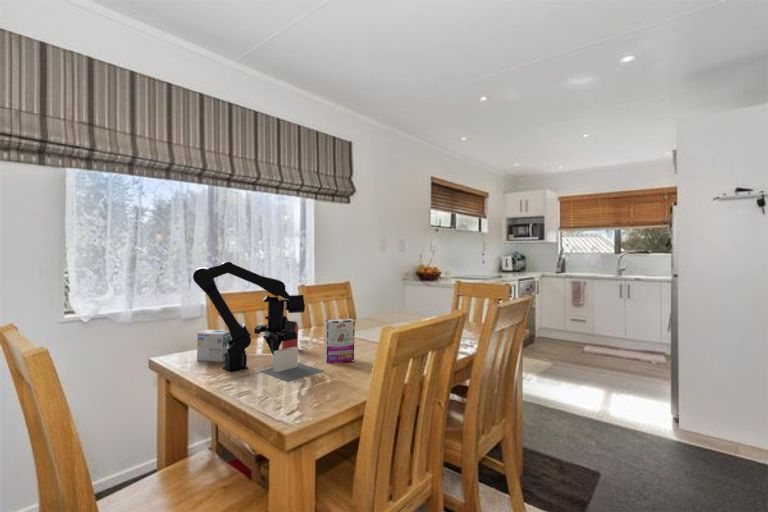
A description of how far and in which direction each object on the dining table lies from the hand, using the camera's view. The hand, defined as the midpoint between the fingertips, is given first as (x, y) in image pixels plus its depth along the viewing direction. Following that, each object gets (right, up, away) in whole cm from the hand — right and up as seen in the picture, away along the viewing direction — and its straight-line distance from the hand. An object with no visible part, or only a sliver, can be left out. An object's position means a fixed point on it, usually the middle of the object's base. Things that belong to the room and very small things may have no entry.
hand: (274, 355), depth 142 cm
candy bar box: (+23, -5, +8) cm, 25 cm away
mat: (+8, -4, -7) cm, 11 cm away
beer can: (0, -4, +23) cm, 23 cm away
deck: (+5, -4, -4) cm, 8 cm away
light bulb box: (-25, -3, +6) cm, 26 cm away
